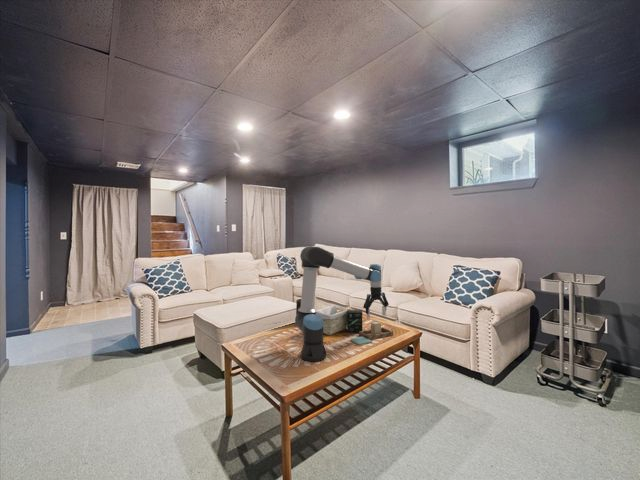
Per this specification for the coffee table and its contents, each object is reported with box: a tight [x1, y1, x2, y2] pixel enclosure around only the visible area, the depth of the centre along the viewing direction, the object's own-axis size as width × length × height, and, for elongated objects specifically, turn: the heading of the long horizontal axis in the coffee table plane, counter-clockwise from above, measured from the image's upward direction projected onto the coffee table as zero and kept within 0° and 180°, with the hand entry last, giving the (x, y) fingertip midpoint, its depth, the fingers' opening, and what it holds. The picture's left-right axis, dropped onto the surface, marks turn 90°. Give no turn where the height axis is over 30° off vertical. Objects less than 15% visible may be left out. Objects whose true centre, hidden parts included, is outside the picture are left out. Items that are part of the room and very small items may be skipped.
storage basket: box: [315, 304, 348, 336], centre depth 215 cm, size 24×16×15 cm
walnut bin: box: [358, 327, 394, 341], centre depth 203 cm, size 21×11×2 cm, turn 117°
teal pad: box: [350, 336, 373, 346], centre depth 191 cm, size 10×10×1 cm
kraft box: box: [370, 321, 382, 335], centre depth 203 cm, size 5×5×8 cm
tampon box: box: [346, 308, 363, 334], centre depth 213 cm, size 11×9×15 cm
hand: (376, 317), depth 203 cm, fingers open, 13 cm apart
